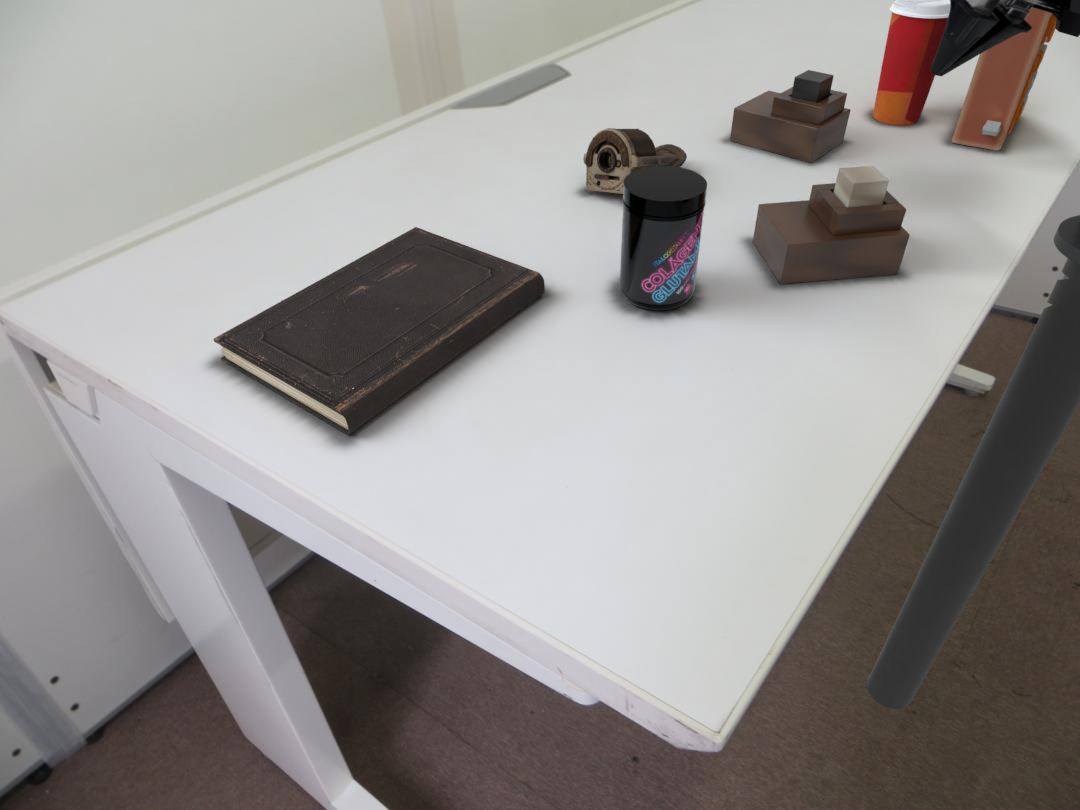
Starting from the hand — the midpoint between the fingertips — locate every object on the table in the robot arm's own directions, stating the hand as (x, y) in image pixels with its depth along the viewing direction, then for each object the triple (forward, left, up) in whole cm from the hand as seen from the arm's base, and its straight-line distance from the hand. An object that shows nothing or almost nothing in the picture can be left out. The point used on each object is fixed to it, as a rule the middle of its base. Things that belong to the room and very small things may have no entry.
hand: (935, 73), depth 74 cm
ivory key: (+6, +16, -7) cm, 18 cm away
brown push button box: (+8, +17, -12) cm, 22 cm away
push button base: (+13, -11, -12) cm, 21 cm away
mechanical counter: (+28, +5, -12) cm, 31 cm away
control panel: (-10, -20, -12) cm, 26 cm away
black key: (+11, -10, -7) cm, 16 cm away
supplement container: (+22, +27, -12) cm, 37 cm away
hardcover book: (+43, +38, -12) cm, 58 cm away
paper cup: (0, -22, -12) cm, 25 cm away
